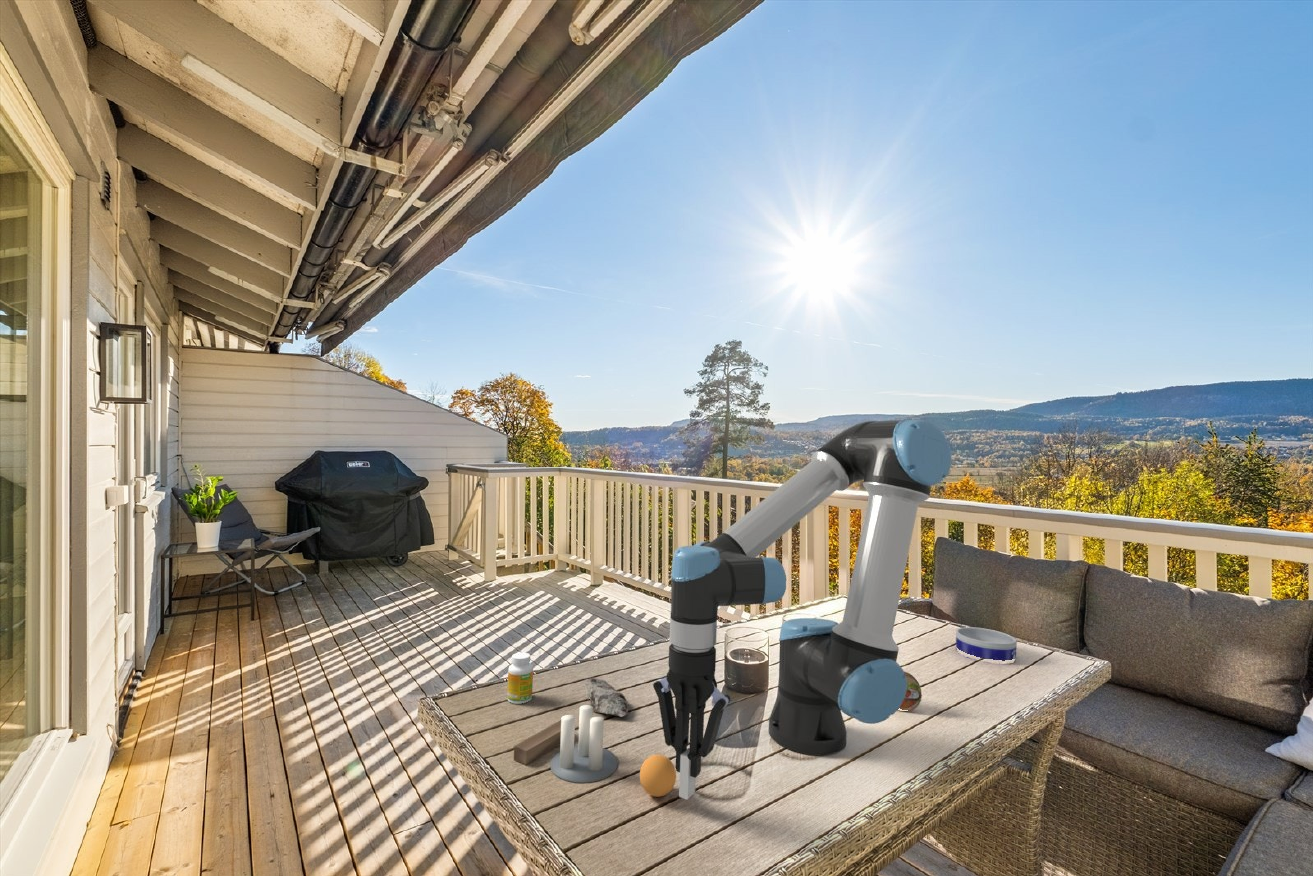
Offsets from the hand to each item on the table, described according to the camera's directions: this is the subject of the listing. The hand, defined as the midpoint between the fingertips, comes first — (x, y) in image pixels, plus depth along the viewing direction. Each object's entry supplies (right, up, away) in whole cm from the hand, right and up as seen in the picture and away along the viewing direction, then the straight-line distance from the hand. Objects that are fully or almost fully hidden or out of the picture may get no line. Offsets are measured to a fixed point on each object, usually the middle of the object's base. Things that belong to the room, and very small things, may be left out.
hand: (687, 793), depth 93 cm
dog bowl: (+91, -7, +76) cm, 119 cm away
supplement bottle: (-35, -2, +37) cm, 51 cm away
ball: (-5, +1, +3) cm, 6 cm away
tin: (+47, -5, +40) cm, 62 cm away
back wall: (-26, -2, +17) cm, 31 cm away
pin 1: (-21, -2, +11) cm, 23 cm away
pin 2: (-18, -2, +15) cm, 23 cm away
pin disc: (-18, -2, +12) cm, 21 cm away
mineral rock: (-16, -3, +35) cm, 38 cm away
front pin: (-16, -2, +10) cm, 19 cm away
